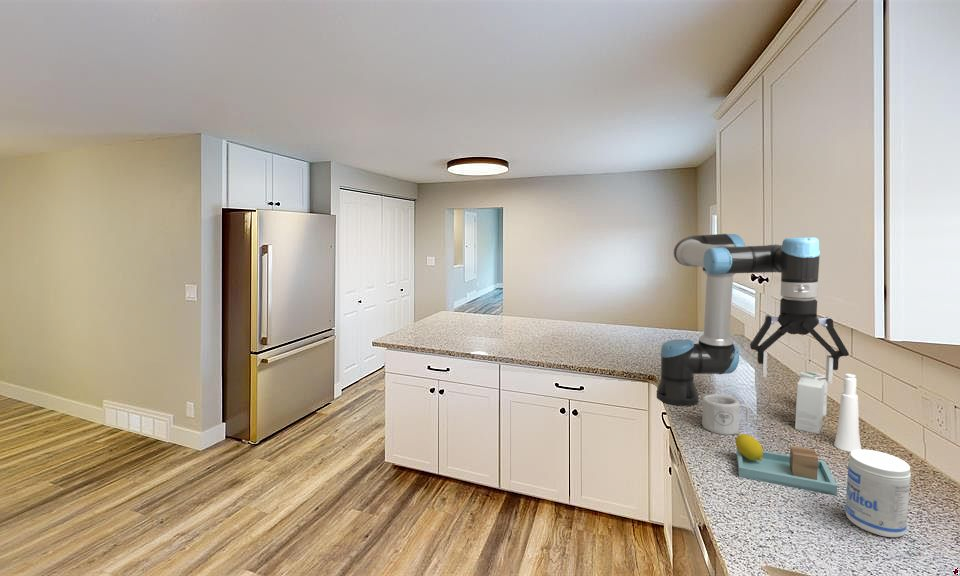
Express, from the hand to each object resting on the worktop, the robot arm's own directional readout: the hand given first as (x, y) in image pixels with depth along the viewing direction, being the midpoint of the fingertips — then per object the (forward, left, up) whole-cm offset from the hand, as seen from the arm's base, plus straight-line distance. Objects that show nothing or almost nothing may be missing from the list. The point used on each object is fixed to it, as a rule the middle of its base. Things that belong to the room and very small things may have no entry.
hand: (795, 378), depth 109 cm
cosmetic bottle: (-22, +16, -26) cm, 37 cm away
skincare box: (-34, +9, -26) cm, 43 cm away
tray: (+2, -3, -25) cm, 26 cm away
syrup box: (-48, +12, -26) cm, 56 cm away
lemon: (+1, -7, -24) cm, 25 cm away
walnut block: (+2, +2, -25) cm, 25 cm away
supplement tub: (+18, +12, -26) cm, 34 cm away
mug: (-23, -15, -26) cm, 38 cm away
